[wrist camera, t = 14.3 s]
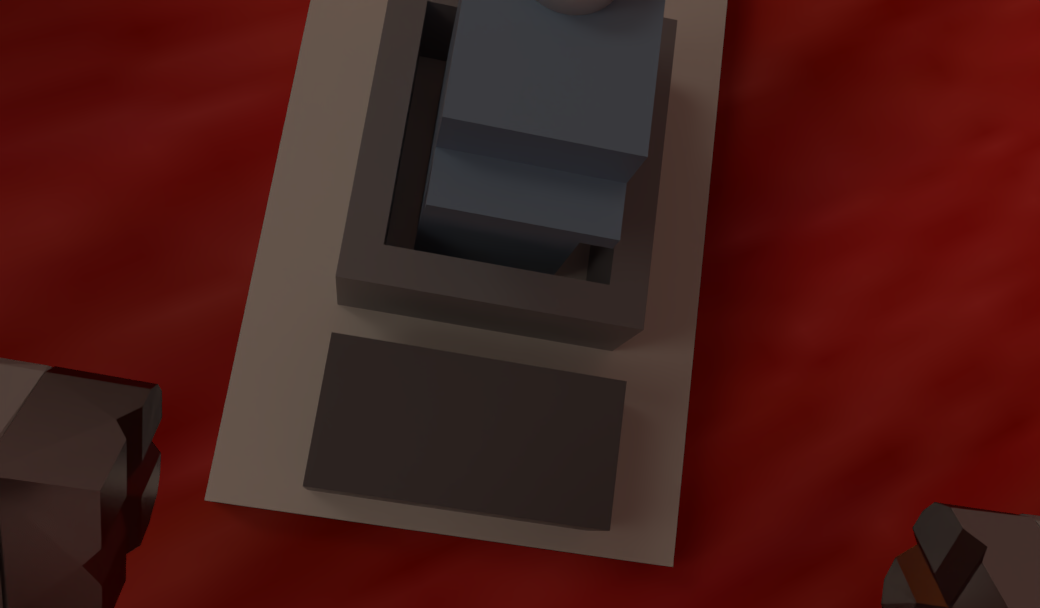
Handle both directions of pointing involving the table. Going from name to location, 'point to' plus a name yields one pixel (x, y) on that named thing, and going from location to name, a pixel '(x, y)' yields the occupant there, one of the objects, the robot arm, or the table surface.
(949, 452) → the table surface
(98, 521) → the robot arm
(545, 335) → the chassis
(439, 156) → the block
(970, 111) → the table surface
